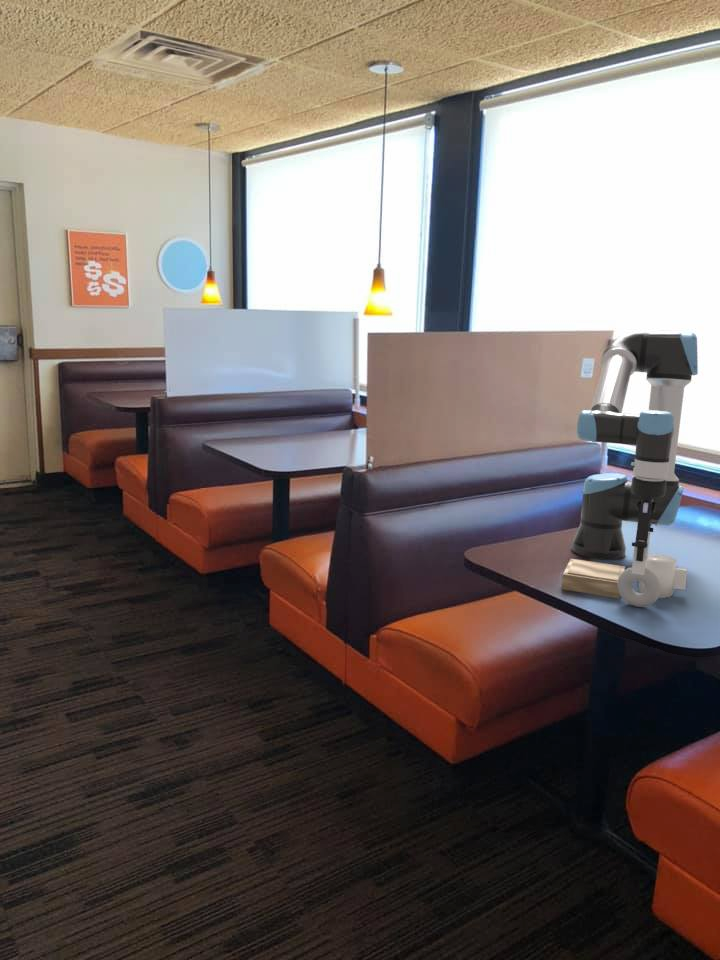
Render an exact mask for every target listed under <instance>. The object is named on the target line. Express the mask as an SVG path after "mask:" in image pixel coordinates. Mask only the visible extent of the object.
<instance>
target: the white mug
mask: <svg viewBox="0 0 720 960" xmlns="http://www.w3.org/2000/svg"><path fill="white" fill-rule="evenodd" d="M676 566H677V559H676V558H674V557H672V556H670V555H668V554H662V553H655V552H654V553H648V557H647V559H646V564H645V568H646V569H649V570H650V571H651V572H653V573H654V574H655V575H656V577H657V578H658V580H659V582H660V587H661V592H660V595H659V598H658V599H667V598H666V597H668V598H670V596H671V597H672V596H673V591H674V589H675V590H676V589H677V590H682V591H686V587H687V586H686V585H687V578H688V569H687V568H686V569H685V568H680V567H679V568H678V567H676ZM645 590H646V586H645V584H644V583H643V582H641V581H639V583H638V593H643V592H644V591H645Z"/></svg>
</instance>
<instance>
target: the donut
mask: <svg viewBox="0 0 720 960" xmlns="http://www.w3.org/2000/svg"><path fill="white" fill-rule="evenodd" d="M635 581H637V582H638V581H639V582H640V581H641V582H643V583H644V584H645V586H646V590H645V591H644V592H643V593H640V592H637V591H635V589H634V588H633V584H634V582H635ZM617 585H618V591H619V593H620V597H621V598H622V600H624V602H625V603H627V604H628V605H630V606H633V607H636V608H645V607H650V606H651V605H653V604H655V603H656V602H657V600H658V599H660V598H659V595H660V592H661V587H660V582H659V580H658V578H657V577H656V575H655V574H654V573H653V572H651V571H650V570H649V569H646V568H645V572H644V575H640V574H633V573H632V566H631V567H627V568H625V571H623V572H622V574H621V575H620V576H619V579H618V583H617Z"/></svg>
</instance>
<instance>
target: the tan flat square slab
mask: <svg viewBox="0 0 720 960" xmlns="http://www.w3.org/2000/svg"><path fill="white" fill-rule="evenodd" d="M625 570H626V566H624V565H619V564H618V565H617V564H612V563H611V564H610V563H603V562H597V561H589V560H584V559H576V558H570V560H569V562H568V563H567V565H566V567H565V569H564V571H563V573H562V578H561V579H562V580H561V590H563V591H571V592H578V593H584V594H590V595H596V596H602V597H609V598H615V599H620V597H621V595H620V593H619V591H618V585H617V583H618V579H619V576H620V575H621V574H622V572H623V571H625Z"/></svg>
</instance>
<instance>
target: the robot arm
mask: <svg viewBox="0 0 720 960" xmlns="http://www.w3.org/2000/svg"><path fill="white" fill-rule="evenodd" d="M698 361H699V360H698V336H697V335H696V333H694V332H691V331H684V330H683V331H681V330H650V329H649V330H645V329H636V330H632V331H629V332H626V333H624V334H622V335H620V336H618V337H617V338H615V339H614V340H613V341H612V342H610V344H608V346H607V347H606V349H605V350H604V351H603V353H602V355H601V358H600V363H599V365H600V369H601V372H600V376H599V378H598V382H597V386H596V389H595V392H594V396H593V400H592V402H591V406H590V409H588V410H582V411H580V412H579V415H578V417H577V423H576V425H577V426H576V435H577V438H578V439H579V440H581V441H586V442H592V443H605V444H616V445H617V444H618V445H630V446H635V453H634V461H631V464H630V466H631V467H633V471H632V474H633V475H634V477H632V479H631V480H628V477H627V475H626V474H623V473H616V472H615V473H613V472H612V473H611V472H610V473H609V472H608V473H606V472H605V473H597V474H592V475H589V476H588V477H587V478H586V479H585V480H584V484H583V490H582V502H581V510H580V511H581V512H580V523H579V526H578V528H577V531H576V533H575V534H574V537H573V540H572V543H571V551H573V553H575V554H577V555H579V556H582V557H585V558H590V559H595V560H596V559H597V560H607V561H608V560H618V559H622V558H624V557H625V556H626V550H627V548H626V543H625V538H624V534H623V530H622V529H623V528H622V527H623V521H624V522H631V523H637V526H636V528H637V529H636V534H635V542H631V547H634V549H633V556H632V565H631V567H632V573H633V574H640V575H644V572H645V564H646V559H647V557H648V554H649V548H650V546H649V545H650V540H651V539H650V537H651V533H654V527H652V525H655V526H664V527H665V526H667V527H668V526H669V527H670V526H672V525H674V523H675V522H676V519H677V516H678V512H679V508H680V505H681V501H682V496H683V493H684V486H682V485H680V479H679V478H678V476H677V475H676V473H675V468H676V461H677V459H676V458H677V451H678V442H679V435H680V427H681V417H682V409H683V401H684V393H685V387H687V386H688V385H689V384H691V382H692V376H697V375H698V372H699V370H698V368H699V367H698V366H699V365H698ZM635 372H637V373H646V379H645V380H646V381H647V382H648V383H649V385H650V386H651V387H650V394H649V402H648V409H647V410H642V411H641V412H640V413H639V414H638V413H637V414H635V413H625V412H624V413H623V408H624V405H625V404H624V403H625V399H626V395H627V391H628V388H629V387H628V386H629V383H630V380H631V379H630V378H631V377H632V376H631V375H633V374H634V373H635Z"/></svg>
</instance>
